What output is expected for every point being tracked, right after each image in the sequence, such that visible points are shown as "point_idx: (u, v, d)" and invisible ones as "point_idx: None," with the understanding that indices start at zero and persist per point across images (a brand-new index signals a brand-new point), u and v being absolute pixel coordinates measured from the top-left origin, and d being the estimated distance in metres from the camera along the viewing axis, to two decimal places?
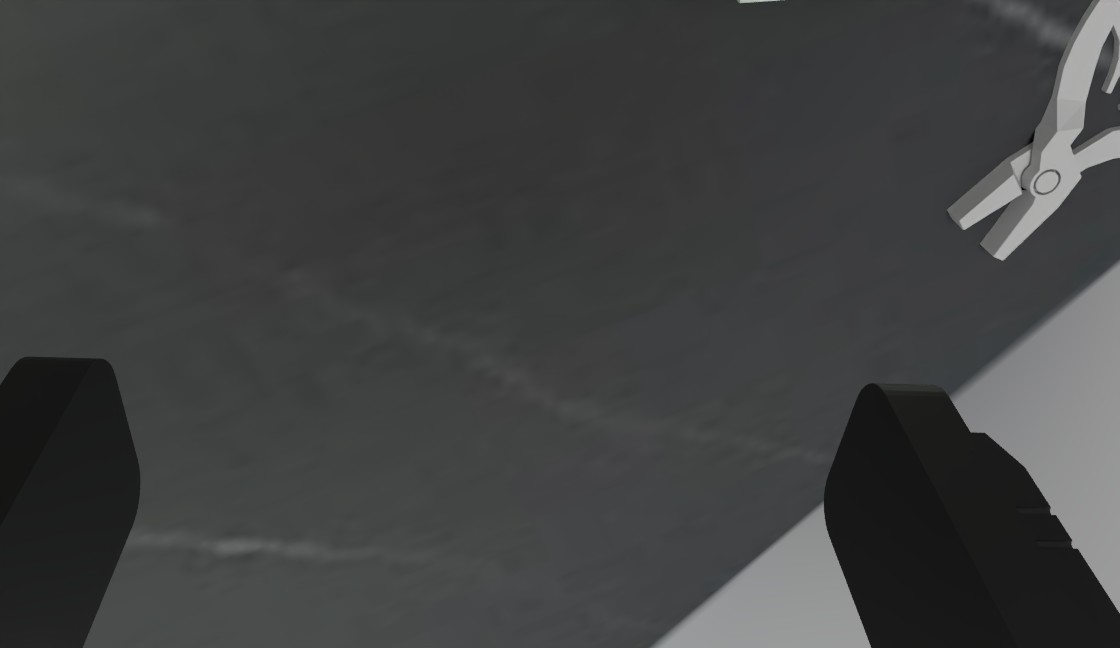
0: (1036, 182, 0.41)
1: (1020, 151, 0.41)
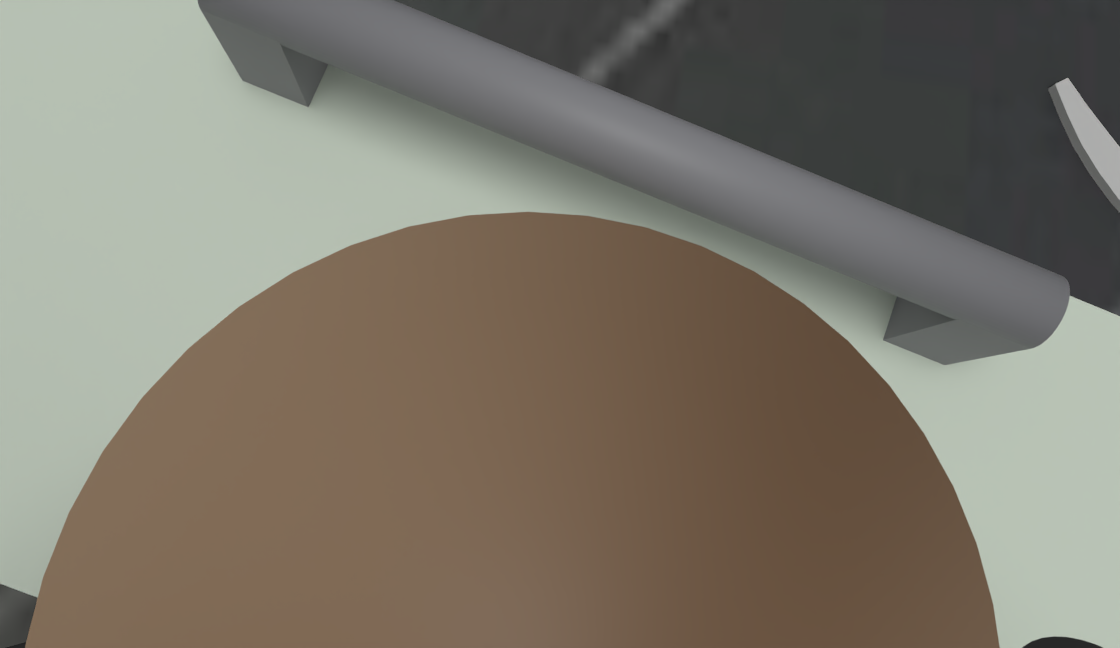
0: None
1: None
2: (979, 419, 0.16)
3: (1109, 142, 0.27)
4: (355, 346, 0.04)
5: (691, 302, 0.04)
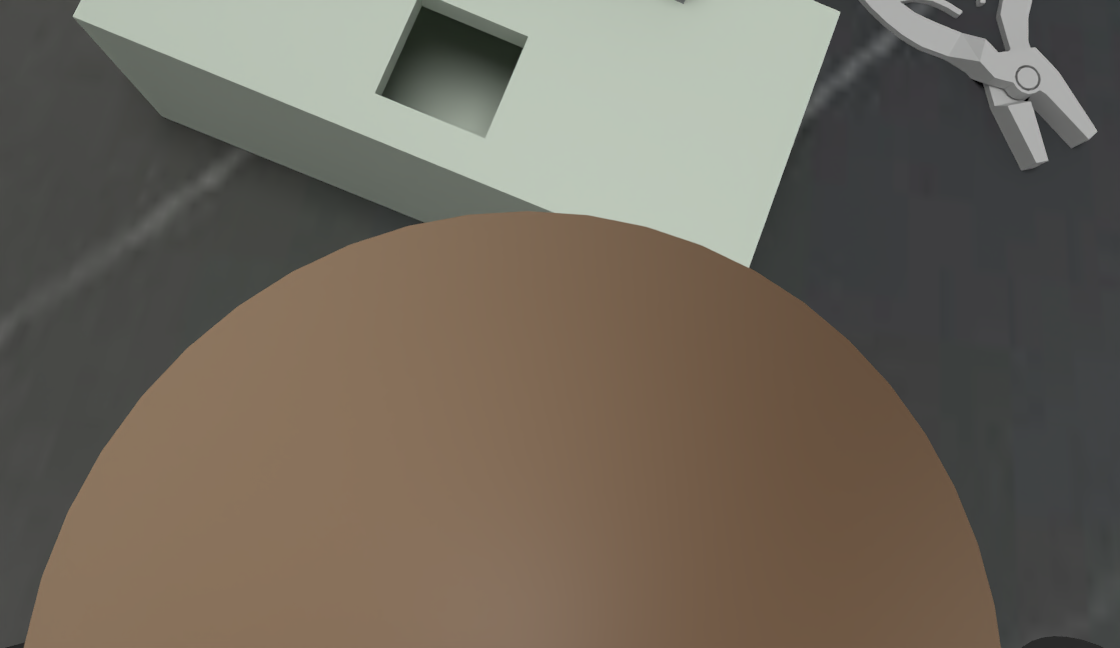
0: (1024, 87, 0.42)
1: (987, 95, 0.43)
2: (700, 30, 0.32)
3: None
4: (355, 346, 0.04)
5: (692, 302, 0.04)
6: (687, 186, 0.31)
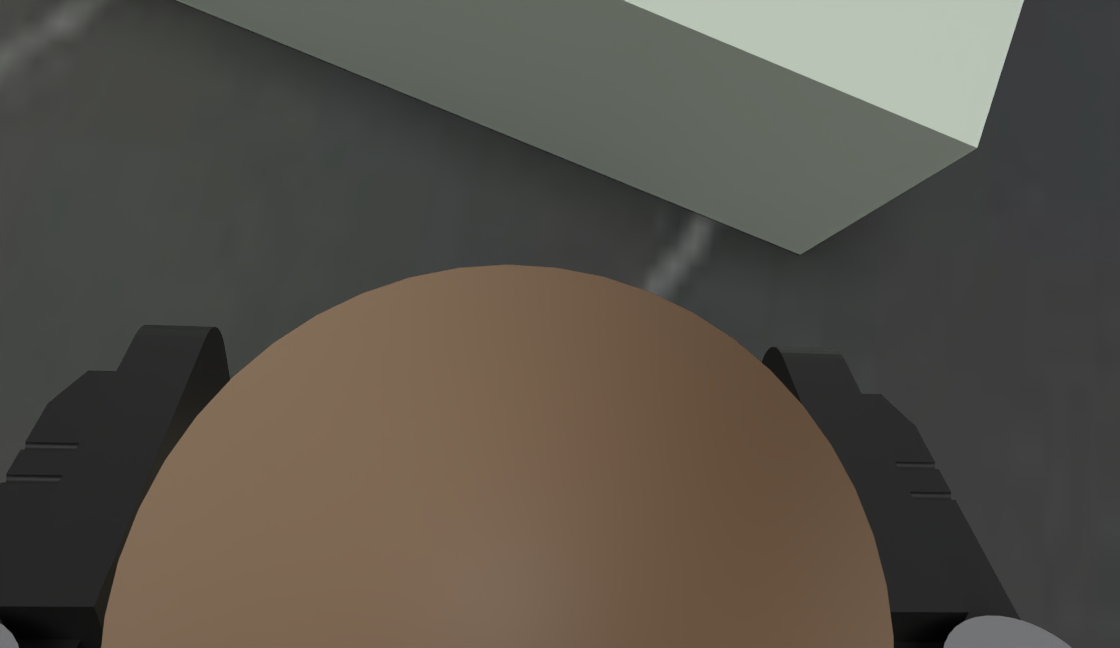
0: None
1: None
2: None
3: None
4: (367, 375, 0.05)
5: (641, 338, 0.05)
6: None
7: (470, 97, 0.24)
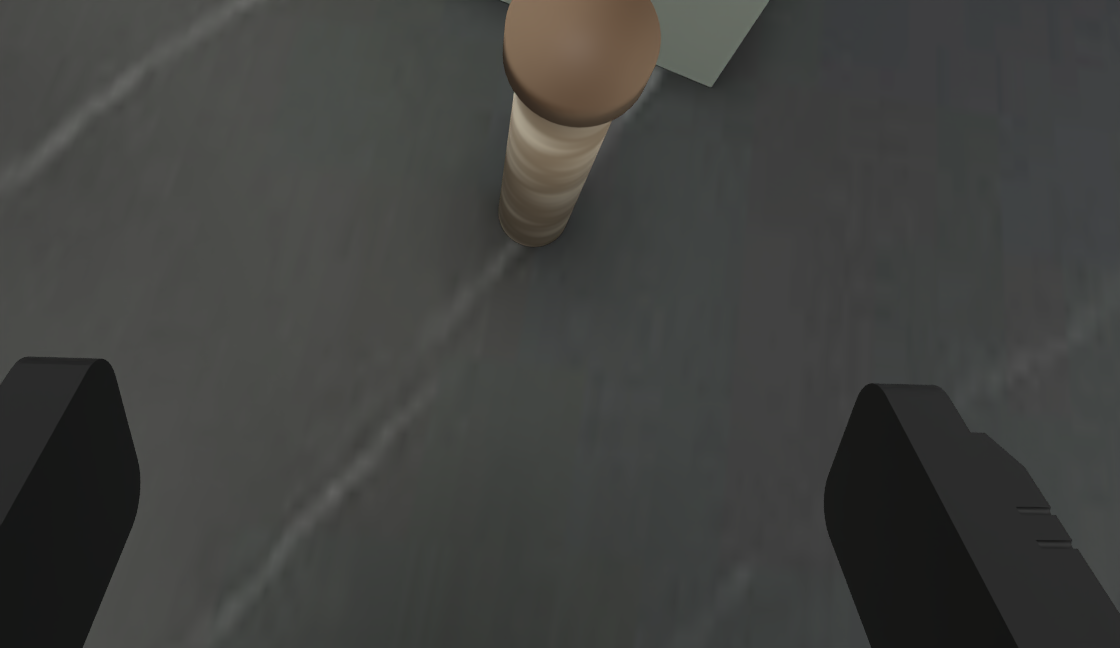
0: None
1: None
2: None
3: None
4: None
5: None
6: None
7: None
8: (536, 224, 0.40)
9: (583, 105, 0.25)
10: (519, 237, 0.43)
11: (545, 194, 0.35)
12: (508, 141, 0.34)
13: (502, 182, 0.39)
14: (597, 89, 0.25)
